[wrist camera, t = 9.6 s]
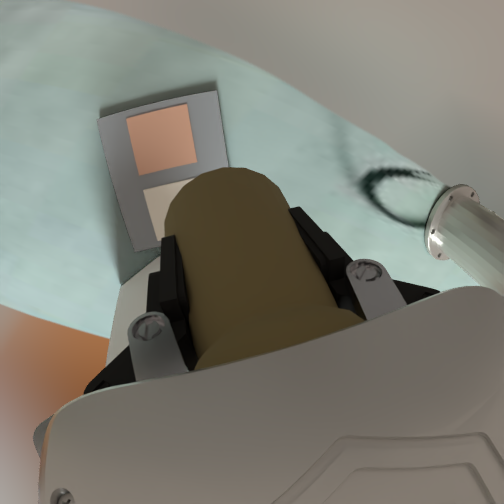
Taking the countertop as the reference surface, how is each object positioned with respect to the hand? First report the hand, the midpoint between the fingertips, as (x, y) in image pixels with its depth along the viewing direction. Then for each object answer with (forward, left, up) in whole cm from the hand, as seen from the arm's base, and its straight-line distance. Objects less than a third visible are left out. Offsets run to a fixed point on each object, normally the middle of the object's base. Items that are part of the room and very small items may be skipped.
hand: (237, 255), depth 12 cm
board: (+4, +1, -18) cm, 19 cm away
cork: (0, 0, -2) cm, 2 cm away
